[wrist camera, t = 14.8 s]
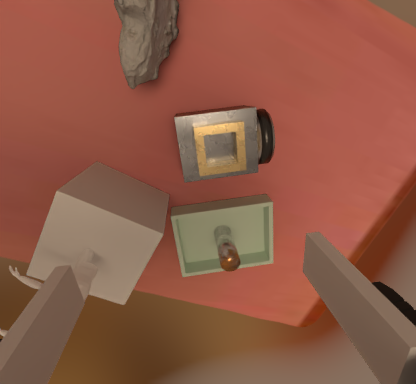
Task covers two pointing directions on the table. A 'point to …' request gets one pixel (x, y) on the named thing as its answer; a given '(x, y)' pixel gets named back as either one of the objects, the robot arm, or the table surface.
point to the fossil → (145, 36)
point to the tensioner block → (224, 141)
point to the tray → (239, 225)
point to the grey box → (100, 233)
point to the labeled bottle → (226, 248)
